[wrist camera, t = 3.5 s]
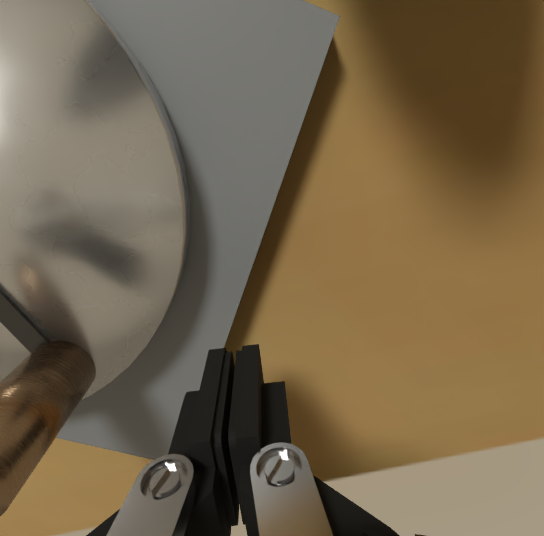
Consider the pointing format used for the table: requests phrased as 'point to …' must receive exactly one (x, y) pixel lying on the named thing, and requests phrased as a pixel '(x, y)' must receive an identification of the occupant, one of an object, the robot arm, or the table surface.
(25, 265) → the dial
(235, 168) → the base plate
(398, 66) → the table surface
